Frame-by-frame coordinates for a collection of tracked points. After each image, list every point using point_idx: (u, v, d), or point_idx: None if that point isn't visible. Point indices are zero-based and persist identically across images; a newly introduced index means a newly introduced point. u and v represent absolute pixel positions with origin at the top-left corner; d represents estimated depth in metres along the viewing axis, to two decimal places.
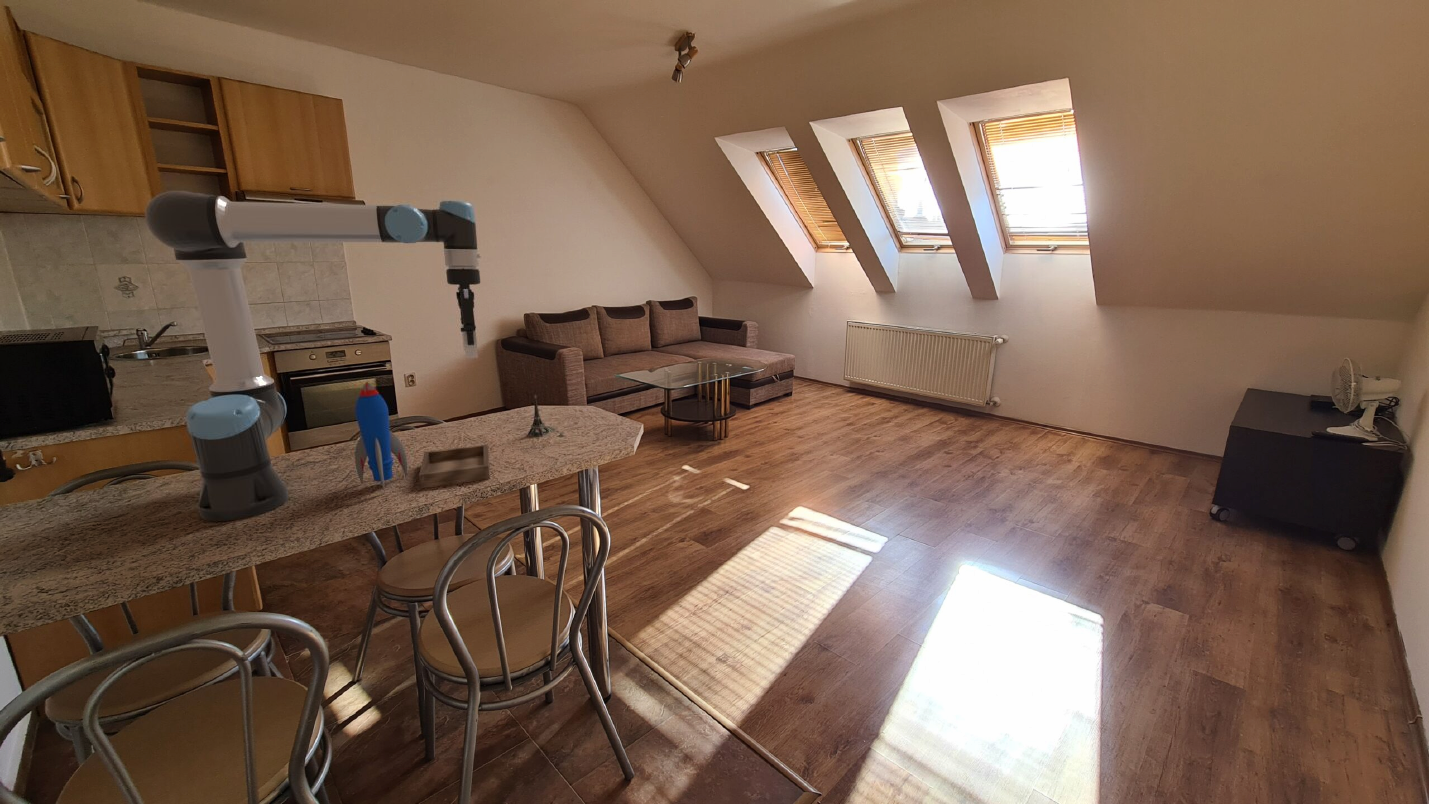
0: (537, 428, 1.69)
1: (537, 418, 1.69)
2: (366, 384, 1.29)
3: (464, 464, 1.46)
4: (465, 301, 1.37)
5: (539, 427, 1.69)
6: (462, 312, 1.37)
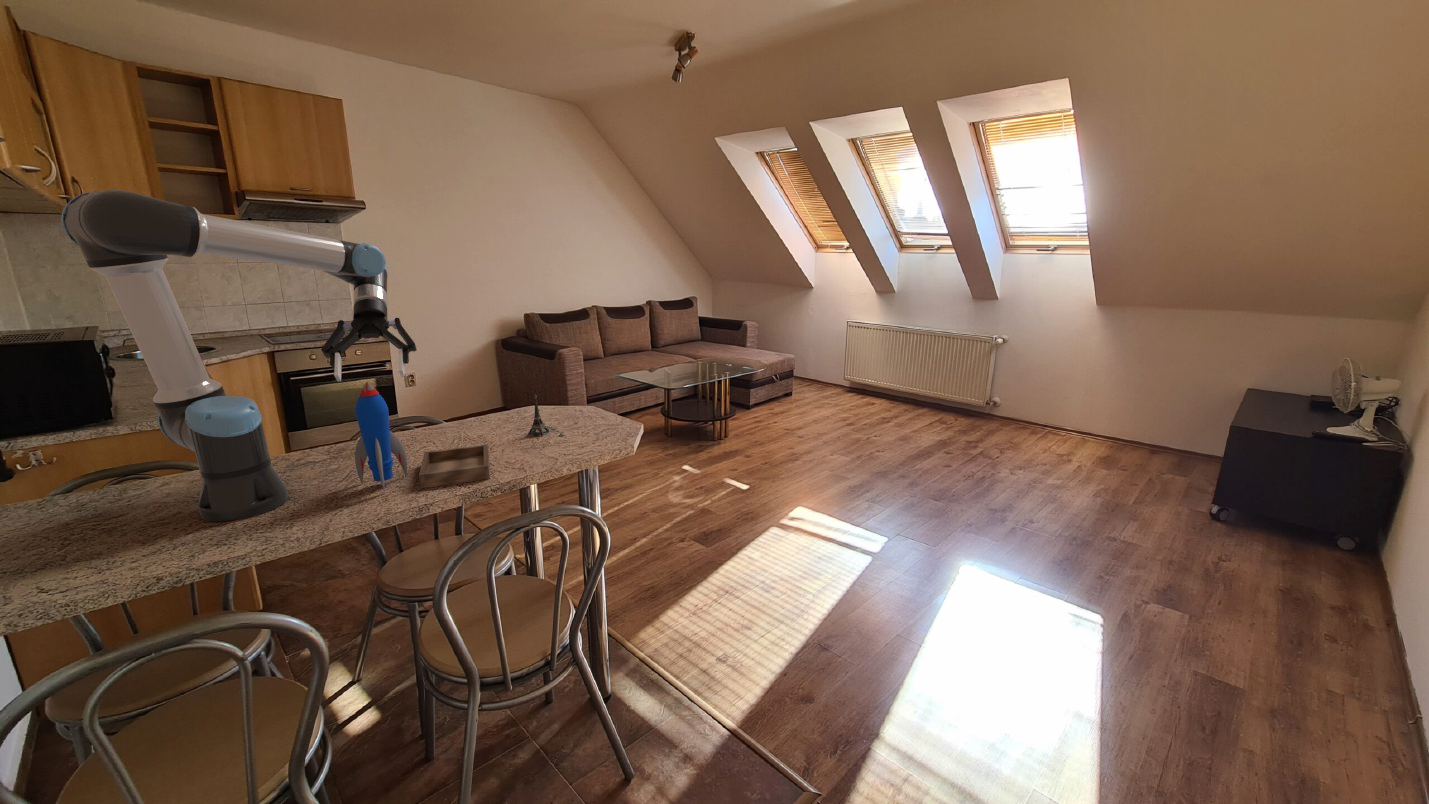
0: (537, 428, 1.69)
1: (537, 418, 1.69)
2: (366, 384, 1.29)
3: (464, 464, 1.46)
4: (402, 328, 1.48)
5: (539, 427, 1.69)
6: (403, 334, 1.46)
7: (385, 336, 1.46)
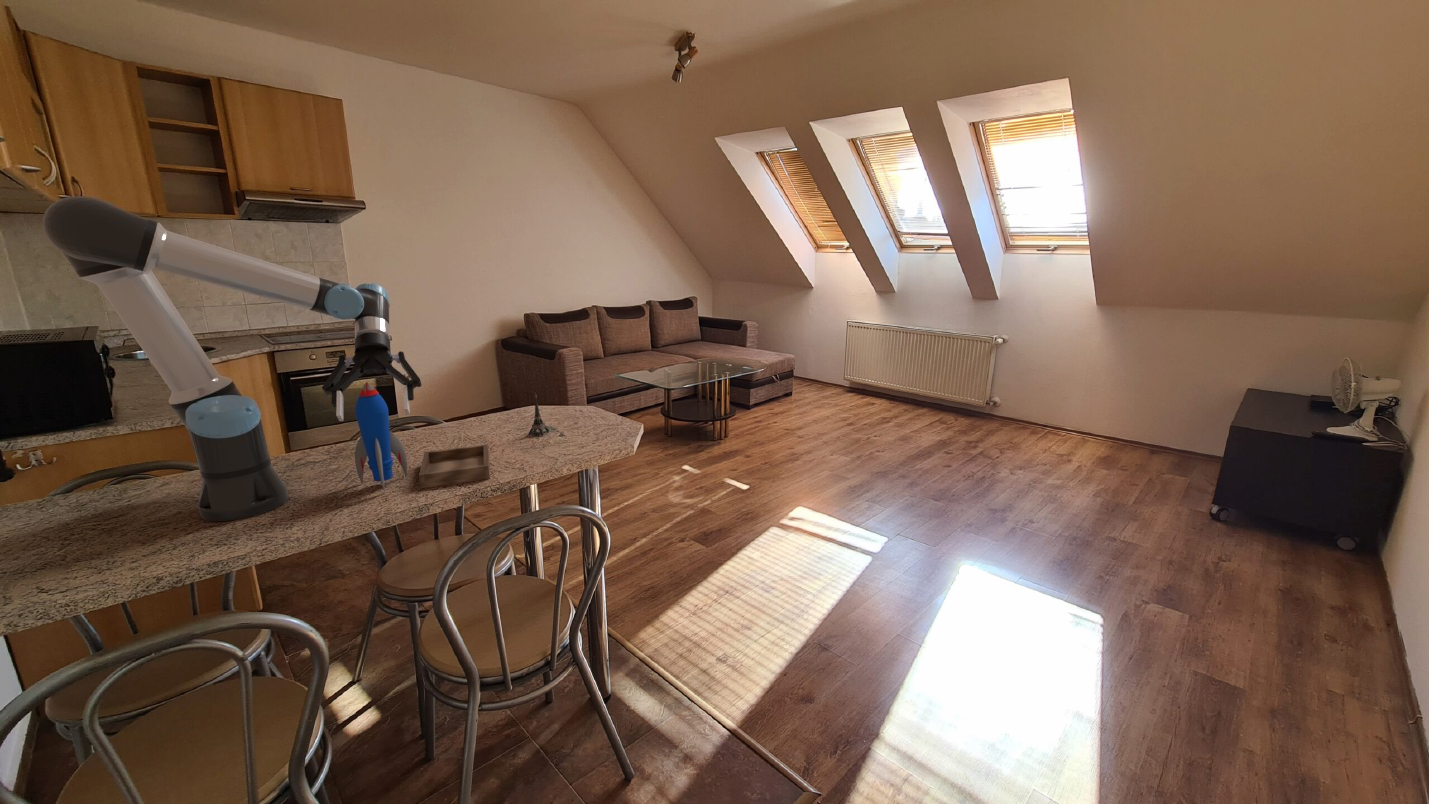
0: (538, 428, 1.69)
1: (538, 418, 1.70)
2: (366, 384, 1.29)
3: (464, 464, 1.46)
4: (406, 362, 1.42)
5: (540, 427, 1.69)
6: (407, 369, 1.40)
7: (389, 371, 1.40)
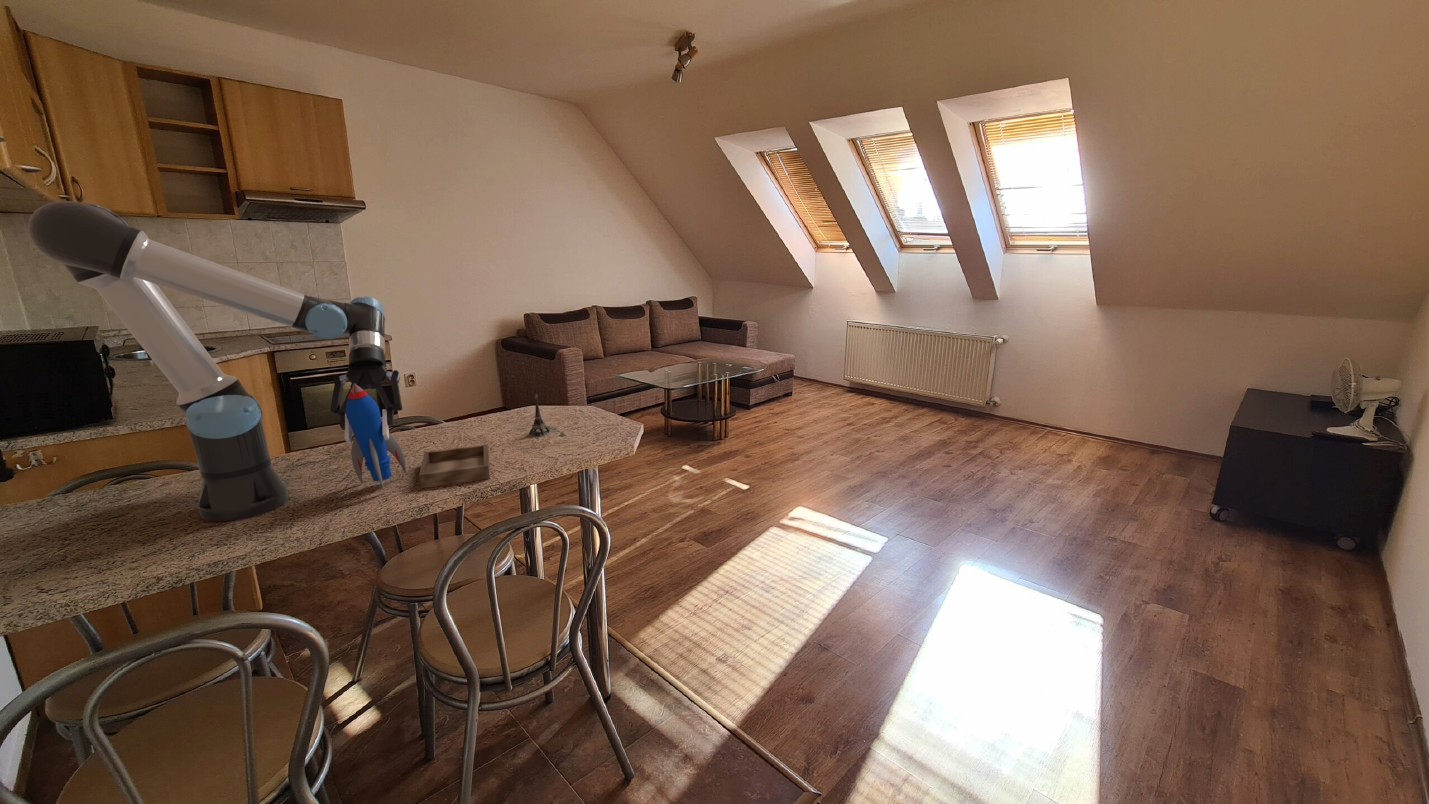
0: (538, 428, 1.70)
1: (538, 418, 1.70)
2: (354, 386, 1.27)
3: (464, 464, 1.46)
4: (397, 382, 1.38)
5: (540, 427, 1.70)
6: (393, 389, 1.36)
7: None
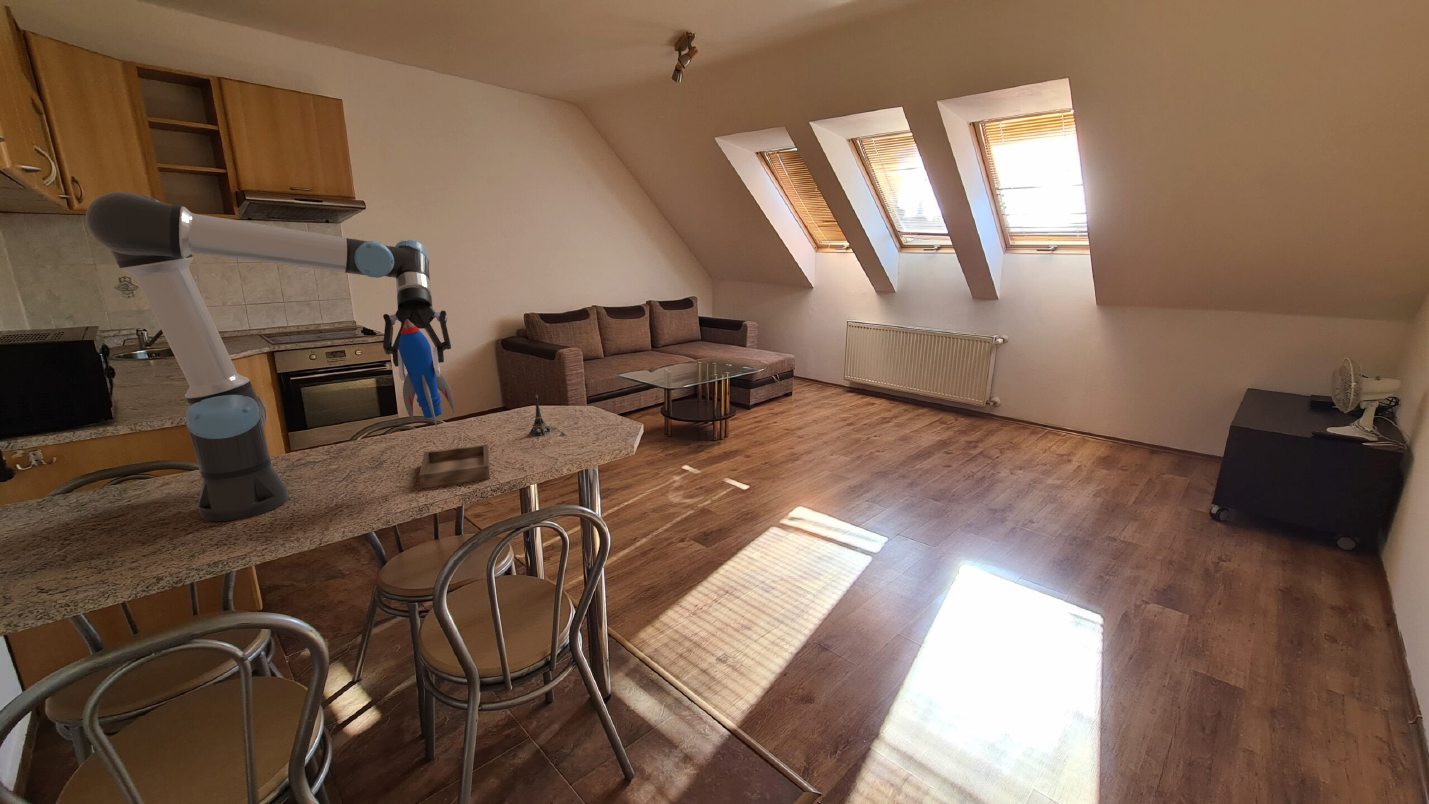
0: (539, 427, 1.70)
1: (538, 417, 1.70)
2: (406, 321, 1.29)
3: (464, 464, 1.46)
4: (445, 322, 1.40)
5: (541, 426, 1.70)
6: (442, 328, 1.38)
7: (426, 328, 1.38)
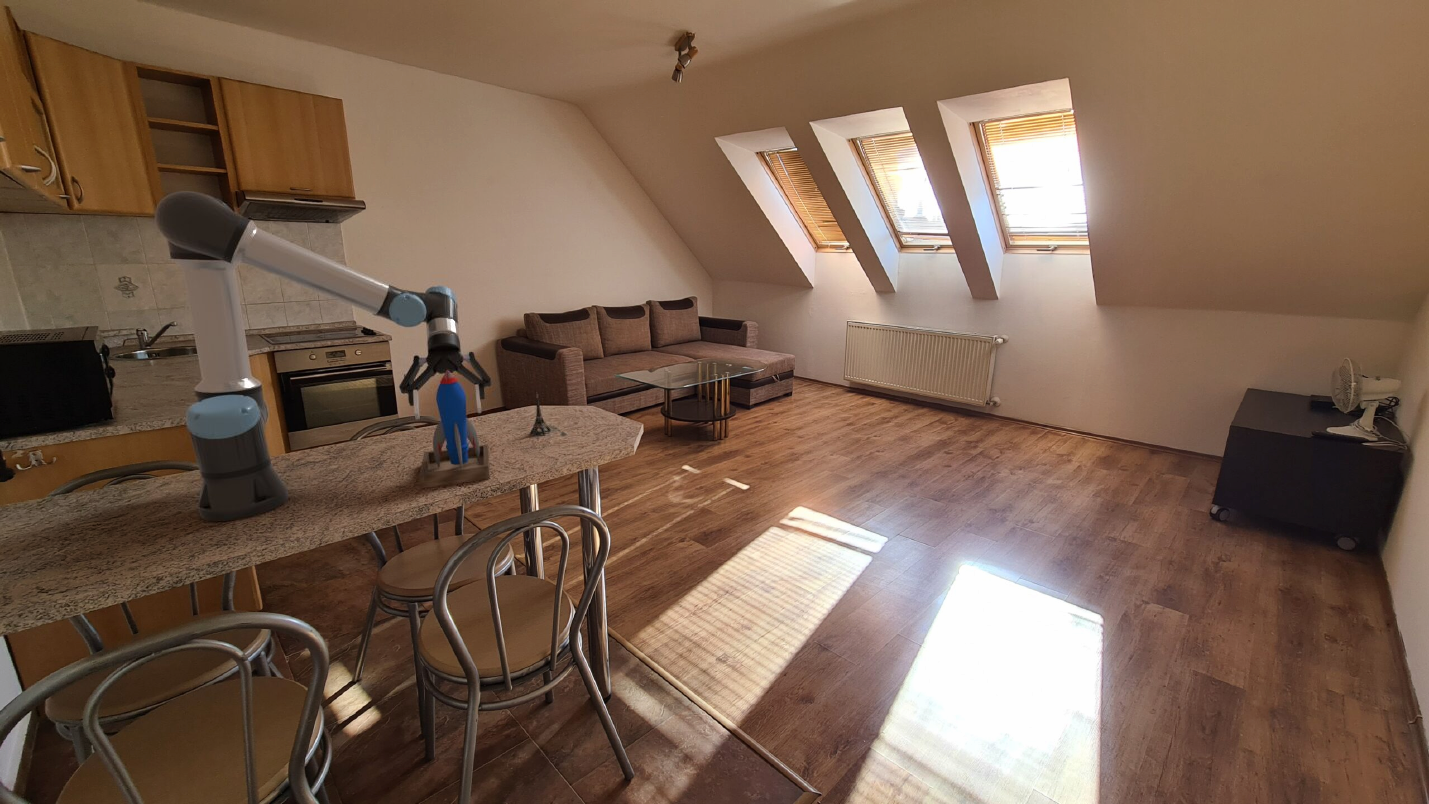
0: (539, 427, 1.70)
1: (539, 417, 1.70)
2: (447, 372, 1.36)
3: (464, 464, 1.46)
4: None
5: (541, 426, 1.70)
6: (478, 368, 1.44)
7: (460, 371, 1.44)
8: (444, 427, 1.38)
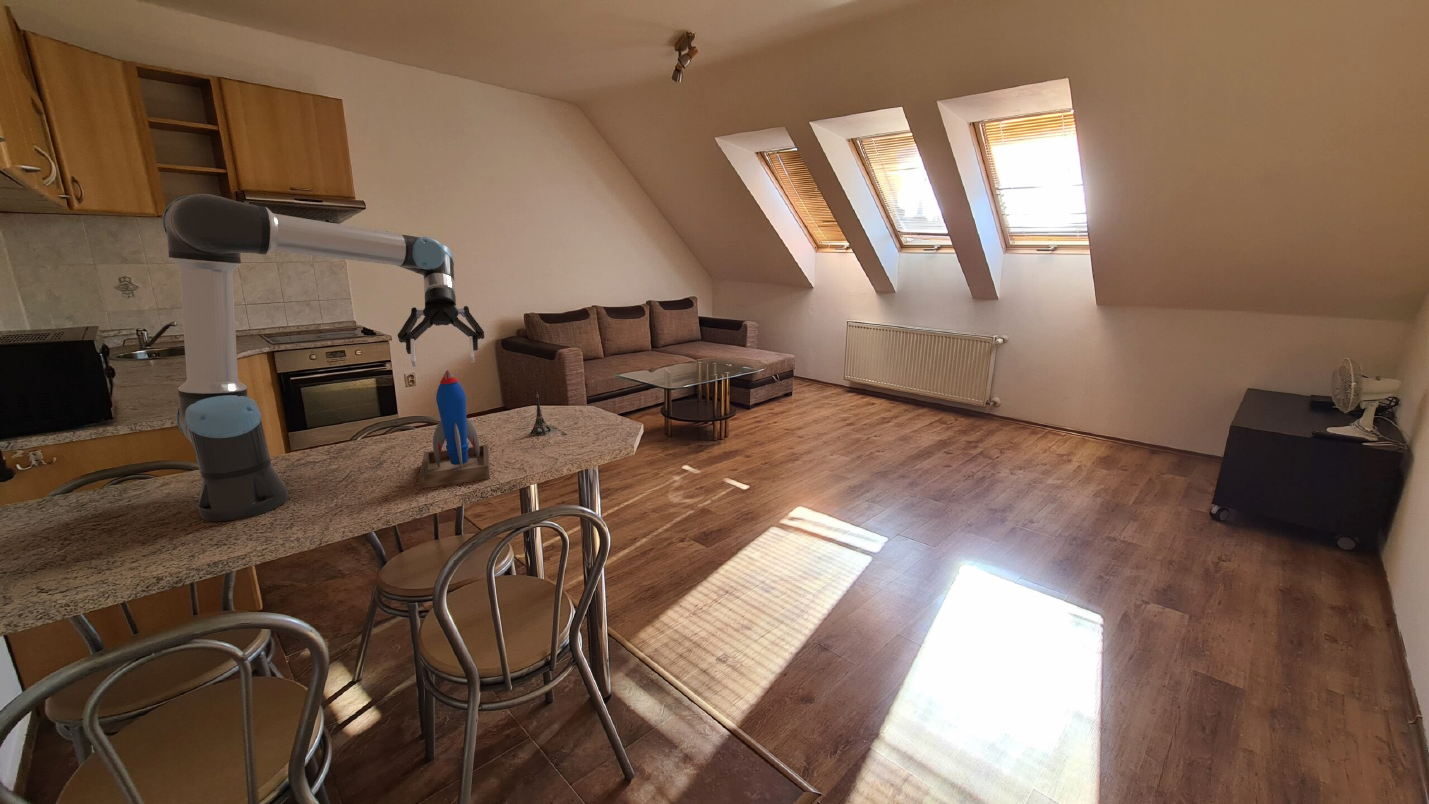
0: (540, 427, 1.70)
1: (539, 417, 1.70)
2: (447, 372, 1.36)
3: (464, 464, 1.46)
4: None
5: (542, 426, 1.70)
6: (472, 322, 1.53)
7: (455, 323, 1.52)
8: (444, 427, 1.38)
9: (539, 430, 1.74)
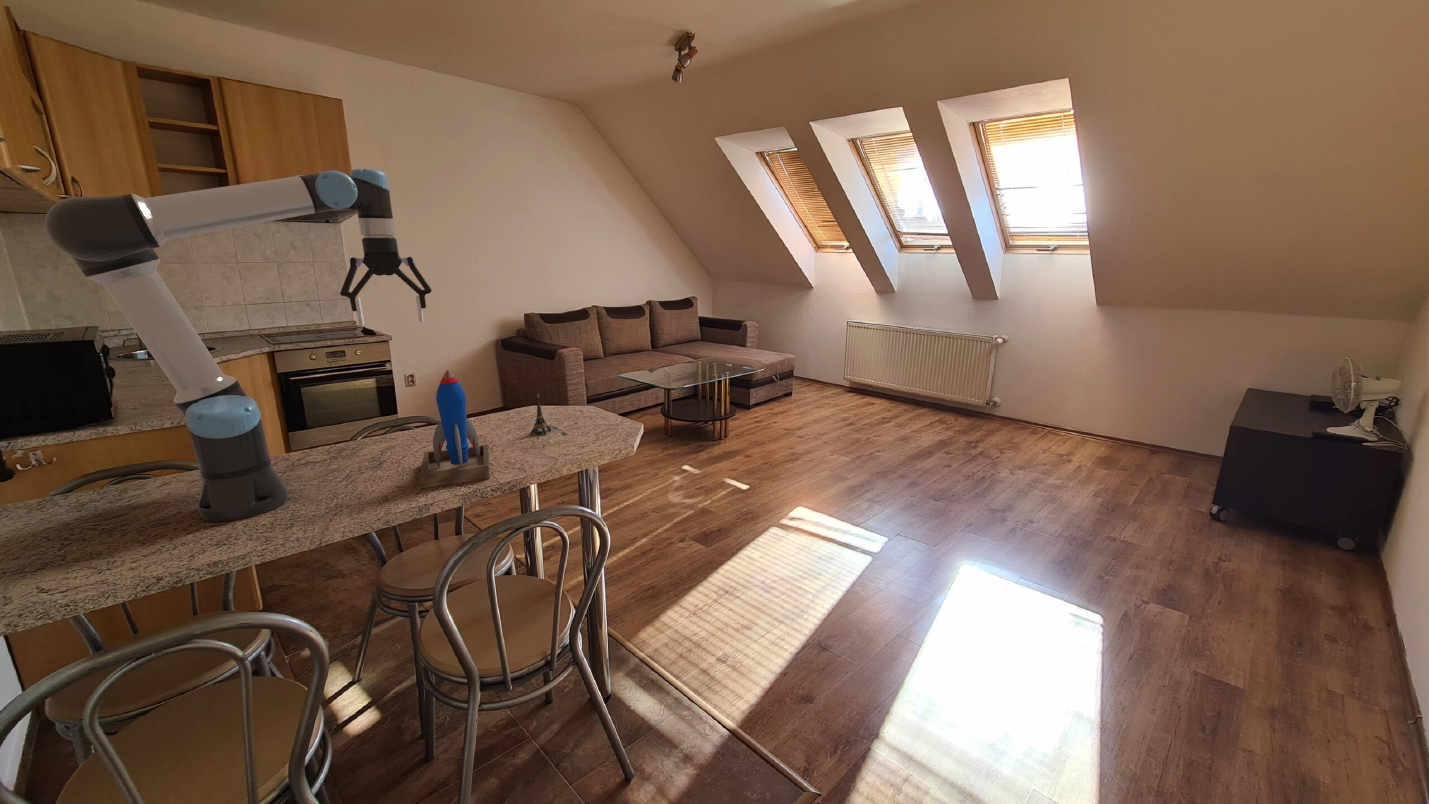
0: (540, 427, 1.70)
1: (540, 417, 1.70)
2: (447, 372, 1.36)
3: (464, 464, 1.46)
4: (416, 267, 1.47)
5: (542, 426, 1.70)
6: (418, 278, 1.47)
7: (400, 277, 1.47)
8: (444, 427, 1.38)
9: (539, 430, 1.74)
